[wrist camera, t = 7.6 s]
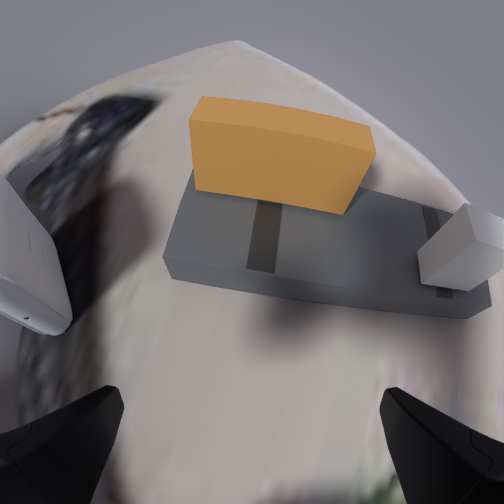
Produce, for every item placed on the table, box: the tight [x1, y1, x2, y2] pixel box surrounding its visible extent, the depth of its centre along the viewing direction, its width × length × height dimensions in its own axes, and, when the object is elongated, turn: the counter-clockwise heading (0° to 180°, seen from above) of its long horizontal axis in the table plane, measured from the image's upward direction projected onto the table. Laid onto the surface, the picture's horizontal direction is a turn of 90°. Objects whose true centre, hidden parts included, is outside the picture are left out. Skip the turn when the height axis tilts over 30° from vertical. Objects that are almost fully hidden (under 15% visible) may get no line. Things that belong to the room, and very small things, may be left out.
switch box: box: [163, 168, 492, 319], centre depth 24 cm, size 10×30×4 cm, turn 82°
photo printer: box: [0, 176, 73, 335], centre depth 16 cm, size 10×4×12 cm, turn 32°
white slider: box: [417, 203, 504, 291], centre depth 18 cm, size 3×6×7 cm, turn 82°
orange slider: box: [189, 96, 376, 215], centre depth 20 cm, size 3×12×7 cm, turn 82°
